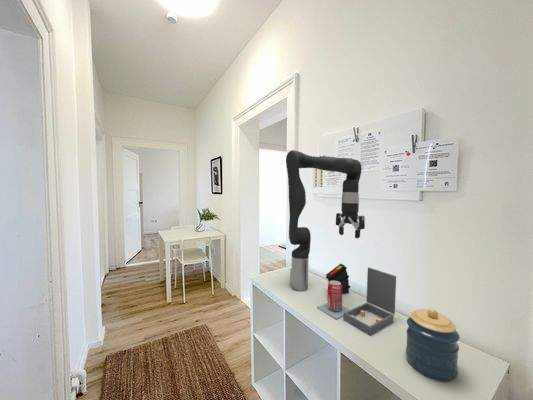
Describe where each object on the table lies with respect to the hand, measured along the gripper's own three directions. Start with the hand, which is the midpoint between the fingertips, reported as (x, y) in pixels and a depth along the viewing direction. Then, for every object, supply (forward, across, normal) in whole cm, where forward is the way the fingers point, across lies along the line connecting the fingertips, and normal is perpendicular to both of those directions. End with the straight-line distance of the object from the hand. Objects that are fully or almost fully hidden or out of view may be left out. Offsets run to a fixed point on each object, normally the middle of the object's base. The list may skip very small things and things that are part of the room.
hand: (349, 236), depth 105 cm
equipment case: (+32, +14, -5) cm, 35 cm away
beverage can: (+32, +1, -10) cm, 33 cm away
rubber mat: (+32, +1, -10) cm, 34 cm away
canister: (+32, +38, -10) cm, 51 cm away
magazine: (+32, -9, +4) cm, 34 cm away
